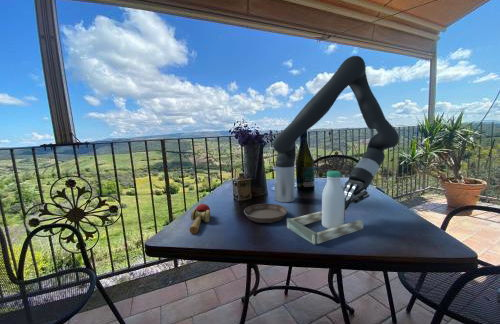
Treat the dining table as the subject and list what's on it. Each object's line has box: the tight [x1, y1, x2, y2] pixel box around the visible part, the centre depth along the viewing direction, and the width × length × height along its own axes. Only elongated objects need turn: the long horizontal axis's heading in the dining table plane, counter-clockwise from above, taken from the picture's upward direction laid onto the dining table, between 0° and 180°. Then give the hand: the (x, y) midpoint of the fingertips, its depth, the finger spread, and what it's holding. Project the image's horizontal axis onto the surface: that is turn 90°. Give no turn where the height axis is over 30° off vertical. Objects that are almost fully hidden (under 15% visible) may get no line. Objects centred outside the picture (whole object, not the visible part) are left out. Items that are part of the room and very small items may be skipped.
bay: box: [286, 210, 364, 246], centre depth 80 cm, size 22×14×4 cm, turn 117°
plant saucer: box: [243, 203, 288, 224], centre depth 94 cm, size 18×18×3 cm
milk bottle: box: [321, 170, 346, 230], centre depth 81 cm, size 8×8×20 cm
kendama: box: [189, 203, 211, 235], centre depth 89 cm, size 8×6×18 cm
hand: (341, 209), depth 83 cm, fingers closed
